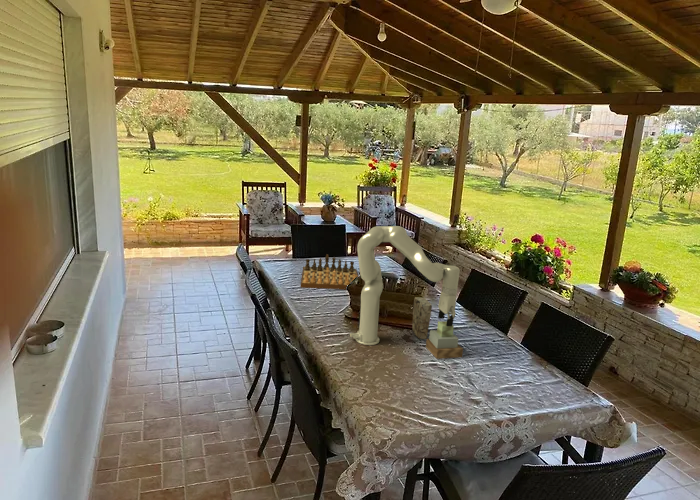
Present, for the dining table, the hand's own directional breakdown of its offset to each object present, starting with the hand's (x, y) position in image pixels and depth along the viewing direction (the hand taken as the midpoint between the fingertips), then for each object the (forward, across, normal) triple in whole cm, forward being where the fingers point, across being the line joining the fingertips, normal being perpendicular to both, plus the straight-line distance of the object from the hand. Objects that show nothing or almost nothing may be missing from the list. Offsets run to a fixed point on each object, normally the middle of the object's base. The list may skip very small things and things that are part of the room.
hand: (445, 322), depth 265 cm
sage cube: (+7, 0, 0) cm, 7 cm away
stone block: (+17, -22, -3) cm, 28 cm away
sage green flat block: (+12, 0, 0) cm, 12 cm away
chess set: (+18, -121, -32) cm, 126 cm away
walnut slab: (+17, +1, +1) cm, 17 cm away
